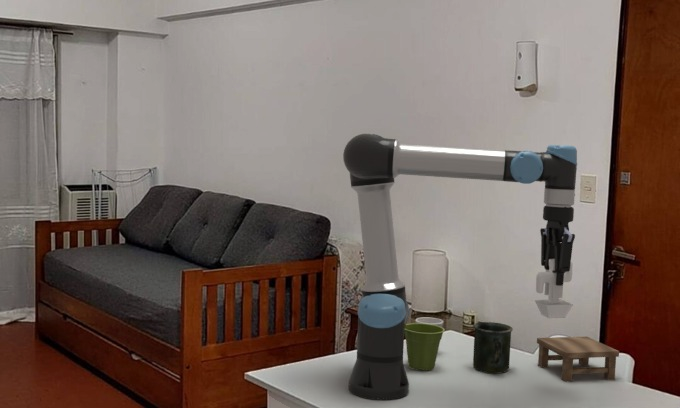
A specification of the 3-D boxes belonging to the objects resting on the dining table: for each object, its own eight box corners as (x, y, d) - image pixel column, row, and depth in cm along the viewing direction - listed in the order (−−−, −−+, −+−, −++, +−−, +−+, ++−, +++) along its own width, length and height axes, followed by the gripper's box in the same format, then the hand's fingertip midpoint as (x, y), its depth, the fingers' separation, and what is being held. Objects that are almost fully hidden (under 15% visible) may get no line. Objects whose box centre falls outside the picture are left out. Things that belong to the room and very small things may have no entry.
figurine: (530, 313, 199) (531, 257, 198) (563, 312, 201) (565, 256, 200) (542, 319, 192) (543, 260, 191) (576, 318, 194) (578, 260, 193)
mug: (505, 363, 220) (507, 322, 219) (517, 378, 205) (519, 335, 204) (468, 362, 220) (470, 321, 219) (477, 377, 205) (479, 333, 204)
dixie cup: (446, 352, 229) (447, 319, 229) (435, 358, 222) (436, 324, 221) (421, 347, 234) (422, 315, 233) (409, 353, 226) (410, 320, 226)
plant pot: (433, 376, 205) (435, 335, 204) (393, 368, 210) (395, 328, 210) (449, 366, 215) (451, 326, 214) (411, 359, 221) (412, 320, 220)
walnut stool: (564, 382, 203) (566, 353, 203) (535, 365, 219) (537, 337, 218) (617, 380, 207) (619, 351, 206) (585, 363, 223) (586, 336, 222)
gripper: (589, 208, 187) (583, 302, 189) (556, 203, 203) (550, 290, 205) (561, 208, 186) (555, 302, 187) (530, 202, 201) (525, 290, 203)
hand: (553, 296), depth 196 cm, fingers closed on figurine, 3 cm apart
